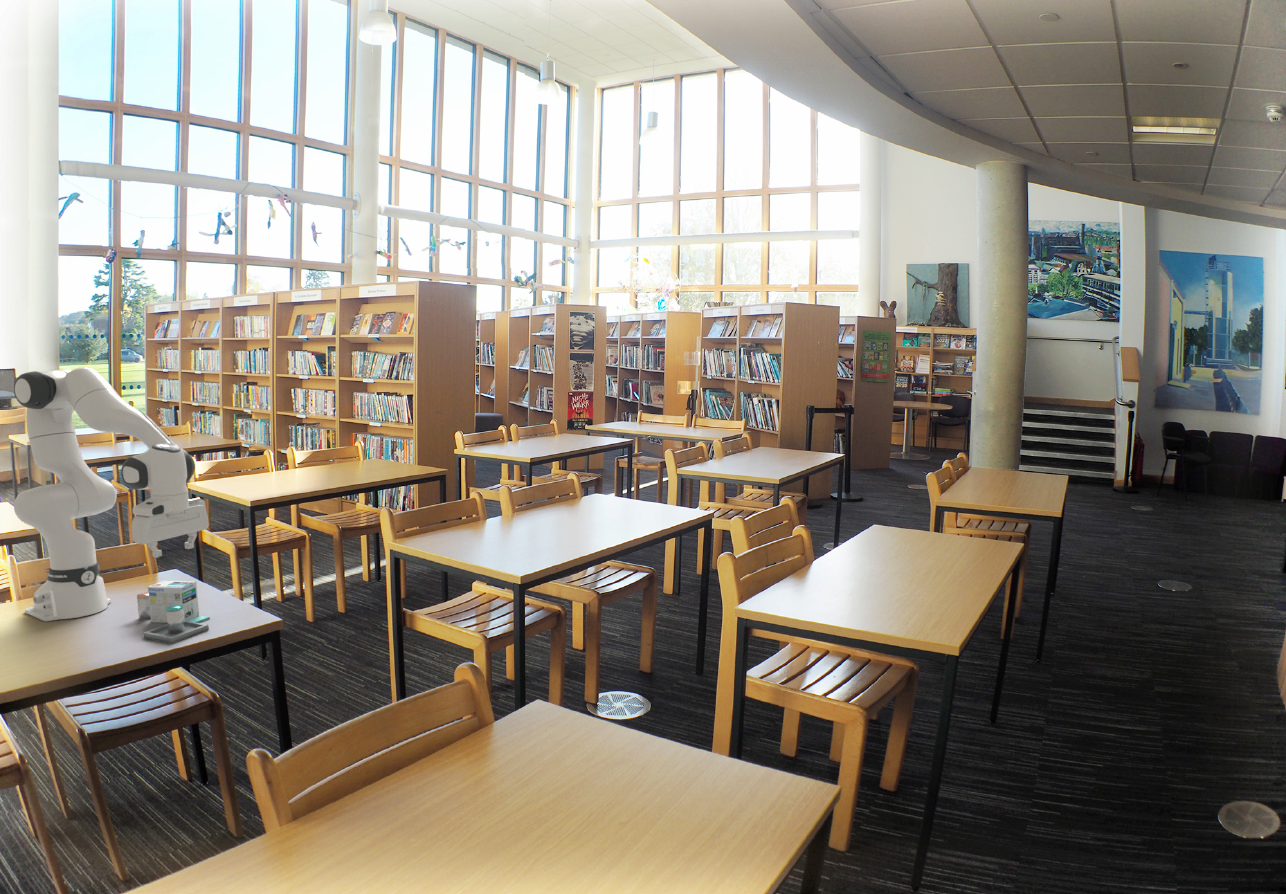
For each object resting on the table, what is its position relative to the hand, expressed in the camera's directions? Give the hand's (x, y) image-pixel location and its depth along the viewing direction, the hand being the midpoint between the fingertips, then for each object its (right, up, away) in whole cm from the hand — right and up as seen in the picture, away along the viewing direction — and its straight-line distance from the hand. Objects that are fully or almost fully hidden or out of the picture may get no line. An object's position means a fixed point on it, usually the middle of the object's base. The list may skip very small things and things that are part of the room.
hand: (173, 552), depth 216 cm
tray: (+1, -22, 0) cm, 22 cm away
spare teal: (+1, -22, 0) cm, 22 cm away
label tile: (+1, -21, +10) cm, 23 cm away
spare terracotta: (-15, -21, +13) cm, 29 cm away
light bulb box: (-6, -21, +11) cm, 25 cm away
